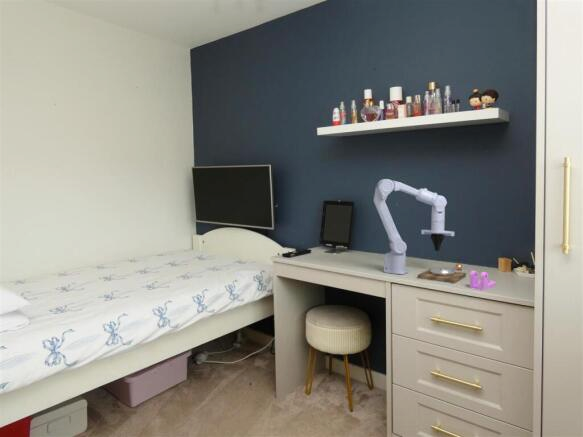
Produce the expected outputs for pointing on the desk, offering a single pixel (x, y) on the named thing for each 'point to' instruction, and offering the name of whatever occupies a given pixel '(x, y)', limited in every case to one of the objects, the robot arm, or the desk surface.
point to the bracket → (481, 284)
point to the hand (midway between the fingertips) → (437, 250)
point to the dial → (445, 270)
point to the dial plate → (442, 277)
